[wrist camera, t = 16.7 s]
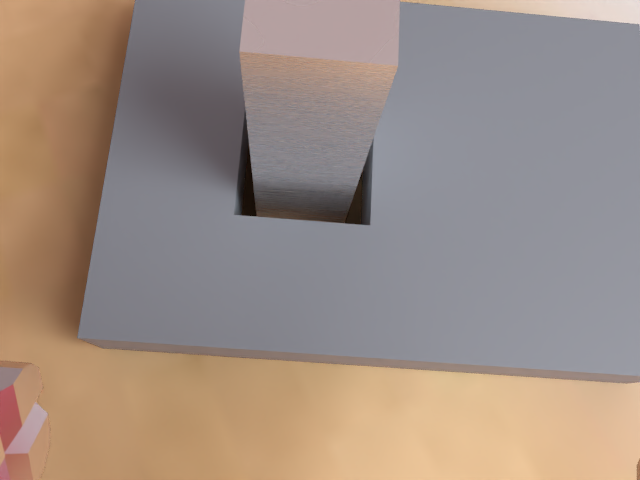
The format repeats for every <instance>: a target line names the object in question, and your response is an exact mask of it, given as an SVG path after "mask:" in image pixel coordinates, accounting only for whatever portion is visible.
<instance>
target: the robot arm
mask: <svg viewBox="0 0 640 480" xmlns="http://www.w3.org/2000/svg"><path fill="white" fill-rule="evenodd" d="M42 389H43V383H42V379H41V375H40V370H39V367H37V366H35V365H34V364H32V363H23V362H11V361H0V480H40V478H41V475H42V473H43V471H44V468H45V464H46V460H47V456H48V452H49V448H50V423H49V416H48V413H47V412H46V411H45V410H44V409H42V408H41V407H40V406H39V405H38V404H37V403H36V400H37V398H38V397H39V395H40V393H41V391H42ZM637 480H640V459H639V462H638V464H637Z"/></svg>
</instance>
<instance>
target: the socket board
mask: <svg viewBox="0 0 640 480" xmlns="http://www.w3.org/2000/svg"><path fill="white" fill-rule="evenodd" d="M244 5H245V0H135V5H134V10H133V16H132V22H131V28H130V34H129V39H128V45H127V51H126V57H125V63H124V69H123V74H122V80H121V86H120V92H119V98H118V104H117V109H116V115H115V121H114V127H113V133H112V138H111V144H110V150H109V156H108V162H107V168H106V173H105V179H104V185H103V191H102V197H101V202H100V208H99V214H98V220H97V226H96V232H95V237H94V243H93V249H92V255H91V261H90V267H89V272H88V278H87V284H86V290H85V296H84V301H83V307H82V313H81V319H80V325H79V331H78V336H77V338H78V339H81V340H83V341H86V342H88V343H91V344H93V345H96V346H98V347H101V348H107V349H122V350H137V351H152V352H167V353H182V354H197V355H212V356H227V357H242V358H257V359H271V360H286V361H301V362H316V363H331V364H346V365H361V366H376V367H391V368H406V369H421V370H436V371H451V372H466V373H480V374H495V375H510V376H525V377H540V378H555V379H570V380H585V381H600V382H615V383H635V382H640V26H639V24H630V23H619V22H609V21H598V20H588V19H577V18H566V17H556V16H545V15H535V14H524V13H514V12H503V11H493V10H482V9H472V8H461V7H451V6H440V5H429V4H419V3H408V2H400V15H399V52H398V68H397V71H396V73H395V76H394V79H393V82H392V85H391V88H390V91H389V94H388V97H387V100H386V103H385V106H384V109H383V111H382V114H381V117H380V120H379V123H378V126H377V129H376V132H375V135H374V138H373V141H372V144H371V147H370V149H369V152H368V155H367V158H366V161H365V164H364V167H363V178H362V201H361V224H360V225H358V224H345V223H333V222H320V221H307V220H294V219H281V218H268V217H255V216H242V215H241V214H242V204H243V195H244V185H245V175H246V165H247V155H248V145H249V139H248V130H247V120H246V110H245V101H244V91H243V82H242V72H241V63H240V53H239V50H240V41H241V32H242V23H243V14H244Z"/></svg>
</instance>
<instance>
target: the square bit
mask: <svg viewBox="0 0 640 480" xmlns="http://www.w3.org/2000/svg"><path fill="white" fill-rule="evenodd" d="M399 15H400V0H245V5H244V14H243V23H242V32H241V41H240V50H239V53H240V63H241V72H242V82H243V91H244V101H245V110H246V120H247V130H248V139H249V149H250V158H251V168H252V177H253V187H254V196H255V206H256V215H257V217H268V218H281V219H294V220H307V221H320V222H333V223H345V220H346V217H347V214H348V211H349V208H350V205H351V202H352V199H353V196H354V193H355V190H356V188H357V185H358V182H359V179H360V176H361V173H362V170H363V167H364V164H365V161H366V158H367V155H368V152H369V149H370V147H371V144H372V141H373V138H374V135H375V132H376V129H377V126H378V123H379V120H380V117H381V114H382V111H383V109H384V106H385V103H386V100H387V97H388V94H389V91H390V88H391V85H392V82H393V79H394V76H395V73H396V71H397V68H398V52H399Z"/></svg>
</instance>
